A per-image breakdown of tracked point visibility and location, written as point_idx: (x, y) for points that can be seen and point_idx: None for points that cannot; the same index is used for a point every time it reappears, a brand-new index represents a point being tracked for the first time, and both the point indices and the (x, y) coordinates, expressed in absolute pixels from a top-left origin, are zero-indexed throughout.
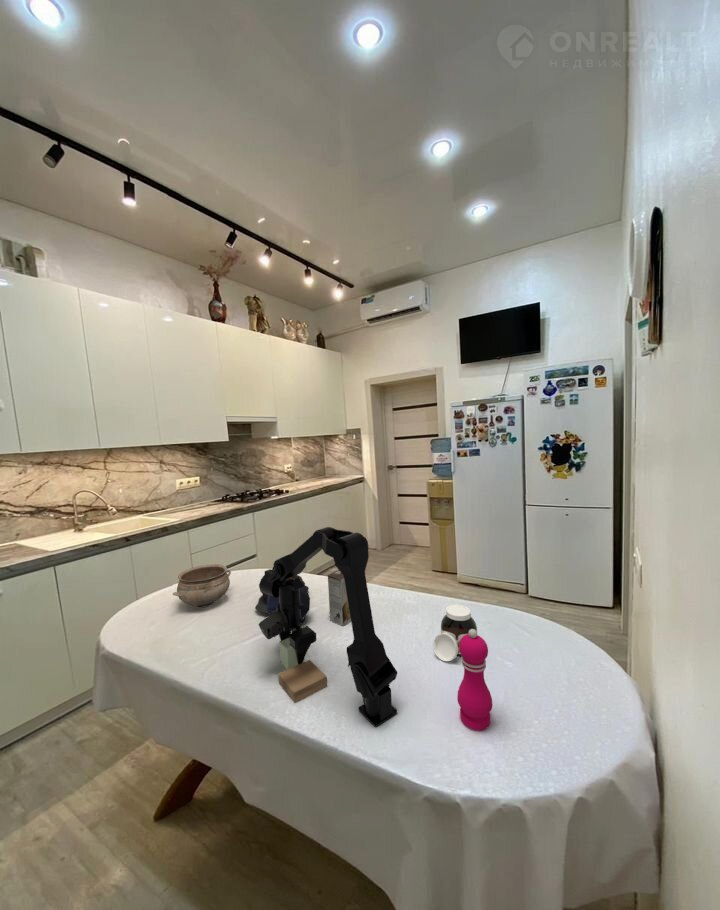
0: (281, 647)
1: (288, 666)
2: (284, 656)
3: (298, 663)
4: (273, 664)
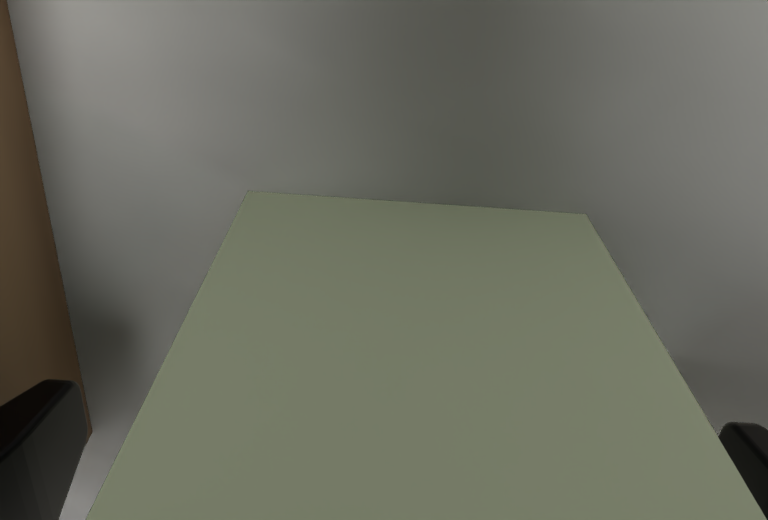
0: (598, 440)
1: (232, 235)
2: (388, 314)
3: (20, 395)
4: (642, 79)
